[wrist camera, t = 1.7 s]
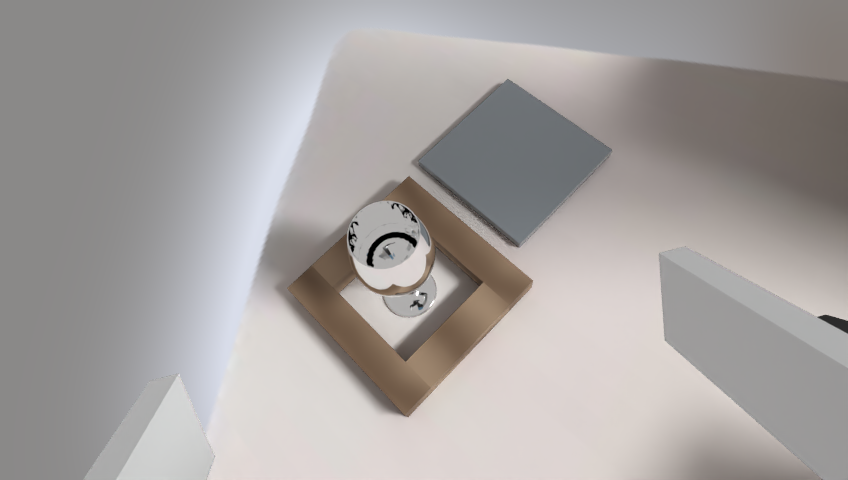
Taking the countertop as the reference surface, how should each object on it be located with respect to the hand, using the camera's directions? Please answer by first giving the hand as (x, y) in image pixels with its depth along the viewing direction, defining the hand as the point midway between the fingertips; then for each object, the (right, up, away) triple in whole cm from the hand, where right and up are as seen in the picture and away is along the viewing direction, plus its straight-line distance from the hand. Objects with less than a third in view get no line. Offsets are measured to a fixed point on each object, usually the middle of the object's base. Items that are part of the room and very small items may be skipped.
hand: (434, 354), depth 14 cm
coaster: (+8, +10, +33) cm, 35 cm away
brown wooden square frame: (-1, -1, +29) cm, 29 cm away
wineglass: (-1, -1, +29) cm, 29 cm away
